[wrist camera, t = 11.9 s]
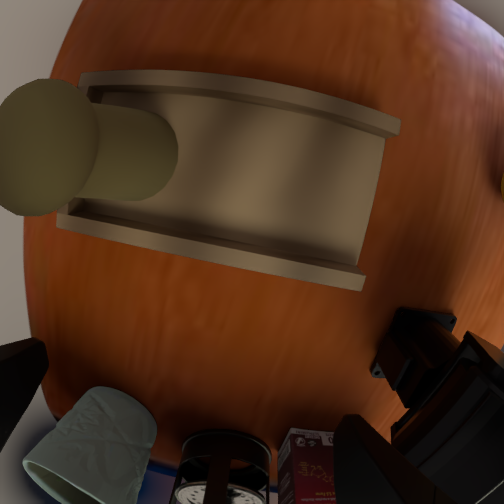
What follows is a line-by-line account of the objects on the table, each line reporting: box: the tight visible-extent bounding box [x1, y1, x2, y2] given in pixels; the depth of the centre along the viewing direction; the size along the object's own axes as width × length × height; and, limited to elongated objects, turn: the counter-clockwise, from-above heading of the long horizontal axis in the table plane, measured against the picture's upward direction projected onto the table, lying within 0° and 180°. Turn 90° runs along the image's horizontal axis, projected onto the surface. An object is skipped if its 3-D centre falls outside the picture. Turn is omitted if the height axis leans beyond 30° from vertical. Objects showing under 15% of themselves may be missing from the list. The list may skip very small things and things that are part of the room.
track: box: [56, 70, 401, 291], centre depth 16 cm, size 20×10×3 cm, turn 79°
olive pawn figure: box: [0, 79, 178, 216], centre depth 11 cm, size 6×6×11 cm
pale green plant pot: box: [23, 386, 157, 504], centre depth 18 cm, size 10×10×12 cm
